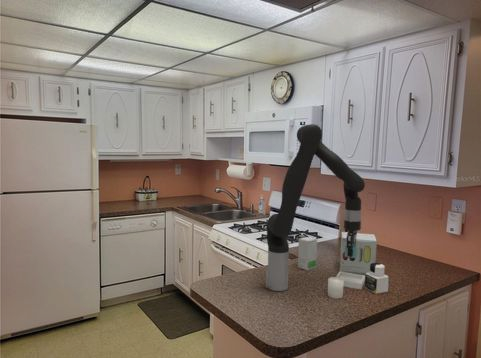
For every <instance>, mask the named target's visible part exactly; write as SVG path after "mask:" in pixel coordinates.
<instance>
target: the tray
mask: <svg viewBox="0 0 481 358" xmlns="http://www.w3.org/2000/svg"><path fill="white" fill-rule="evenodd" d="M335 277H338V278H341V279H343V280H344V285H343V288H344V287H345V288H351V289H354V290H355V289H357V290H362V289H363V286H364V285H365V274H360V273H353V272H344V271H340V270H339V271H338V273H337V274H336V276H335Z"/></svg>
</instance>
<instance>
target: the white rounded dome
mask: <svg viewBox="0 0 481 358" xmlns="http://www.w3.org/2000/svg"><path fill="white" fill-rule="evenodd" d="M343 285H344V280H343V279H341V278H338V277H336V276H331V277H328V278H327V296H328V297H329V298H331V299H342V298H343V297H344V286H343Z"/></svg>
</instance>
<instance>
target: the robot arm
mask: <svg viewBox="0 0 481 358" xmlns="http://www.w3.org/2000/svg"><path fill="white" fill-rule="evenodd" d="M322 137H323V131H322V129H321V127H320V126H319V125H317V124H315V123H314V124H313V123H312V124H306V125H302V126H301V127H299V128H298V129H297V132H296V139H297V141H298V142H299V143H300V144H299V148H298V151H297V153H296V156H295V157H294V159H293V160H292V162H291V163H290V165H289V167H288V169H287V171H286V173H285V176H284V180H283V182H282V188H281V203H280V208H279V210H278V213H273V214H272V215H270V216H269V217H268V219H267V223H266V244H267V248H268V249H267V250H268V251H267V266H266V268H265V288H266V289H268V290H270V291H275V292H284V291H286V290H288V287H289V257H290V245H289V242H288V239H287V238H288V236H289V235H290V233H291V232H292V229H293V225H294V221H295V217H296V212H297V208H298V206H299V202H300V199H301V196H302V194H303V190H304V189H305V185H306V182H307V179H308V176H309V172H310V169H311V166H312V163H313V162H312V161H313V159H314V158H315V157H314V156H316V157H317V158H319V160H320V161H321V162H322V163H323V164H324V165H325V166H326V167H327V168H328V169H329V170H330V171H331V172H332V174H333V175H335V177H336V178H338V179H339V180H341V181H343V185H342V186H343V193H344V198H345V202H344V203H345V204H344V213H343V214H344V215H343V229H344V230H346V231H348V233H347V237H346V238H347V246H346V247H347V248H348V257H352V256H353V244H355V243H356V237H357V233H358V231H360V230H361V229H362V199H361V197H359V193H360V192H362V191H364V189H365V187H366V183H365V181H364V179H363V178H362V177H361V175H359V174H358V173H357V172H356V171H354V170H353V169H352V168H350V166H349V165H348V164H347V163H346V162H345V161H344V160H343V158H341V157H340V156H339V155H338V154H337V153H335V152H334V151H333V150H331V149H330V148H329V147H327V146H326V144H324V143H323V141H322ZM349 244H351V246H349Z"/></svg>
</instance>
